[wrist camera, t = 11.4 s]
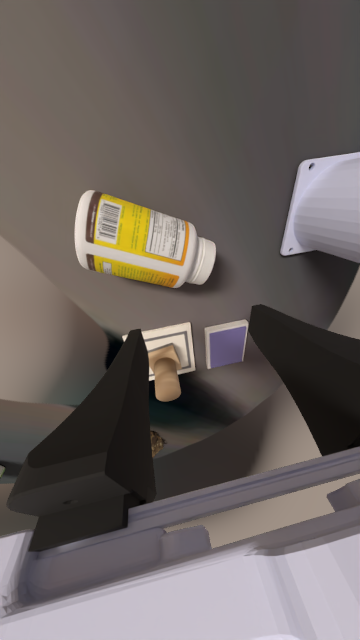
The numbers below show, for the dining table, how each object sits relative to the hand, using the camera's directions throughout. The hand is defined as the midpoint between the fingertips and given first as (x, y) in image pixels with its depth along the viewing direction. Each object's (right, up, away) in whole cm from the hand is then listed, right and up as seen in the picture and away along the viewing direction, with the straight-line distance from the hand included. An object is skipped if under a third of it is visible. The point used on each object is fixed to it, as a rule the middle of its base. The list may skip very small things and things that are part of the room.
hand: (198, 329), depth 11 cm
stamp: (-4, -5, +15) cm, 16 cm away
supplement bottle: (-9, +7, +2) cm, 11 cm away
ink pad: (+6, -3, +16) cm, 17 cm away
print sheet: (-4, -5, +15) cm, 16 cm away
